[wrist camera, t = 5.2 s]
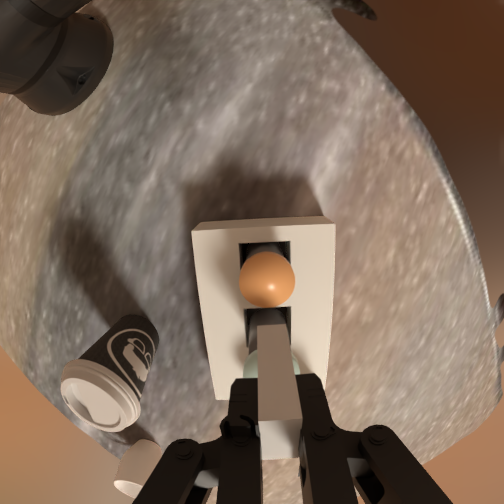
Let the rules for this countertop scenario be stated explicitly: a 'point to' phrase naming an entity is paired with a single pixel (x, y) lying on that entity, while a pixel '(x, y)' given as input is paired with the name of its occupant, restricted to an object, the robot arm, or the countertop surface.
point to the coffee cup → (111, 375)
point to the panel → (234, 307)
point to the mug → (137, 466)
